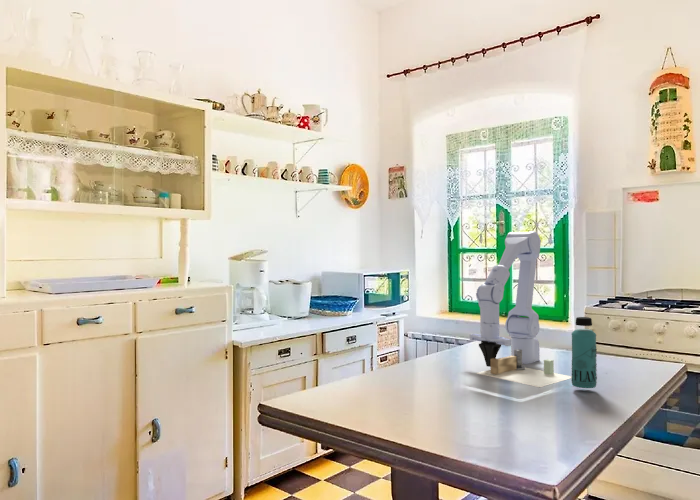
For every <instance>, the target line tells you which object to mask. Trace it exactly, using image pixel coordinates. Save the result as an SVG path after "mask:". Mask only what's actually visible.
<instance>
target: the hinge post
mask: <svg viewBox="0 0 700 500" xmlns="http://www.w3.org/2000/svg"><path fill="white" fill-rule="evenodd" d="M514 356H516V369H515V370H525V367H524V366H523V363H522V350H521V349H514Z"/></svg>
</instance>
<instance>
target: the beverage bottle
mask: <svg viewBox="0 0 700 500" xmlns="http://www.w3.org/2000/svg"><path fill="white" fill-rule="evenodd" d="M592 321H593V320H592V317H587V316H578V317H576V318H575V325H576V326H579V327H589V326H590V327H591V326H593V322H592ZM597 350H598V348H597V333H596V332H595V331H594V330H592V329H588V328H576V329H574V330H573V331H572V332H571V372H570V374H571V376H572V378H571V379H570V380H571V384H572V386H573V387H576V388H580V389H594V388H596V387H597V384H598V382H597V380H598V376H597V367H598V366H597V355H598V354H597V353H598V352H597Z"/></svg>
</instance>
